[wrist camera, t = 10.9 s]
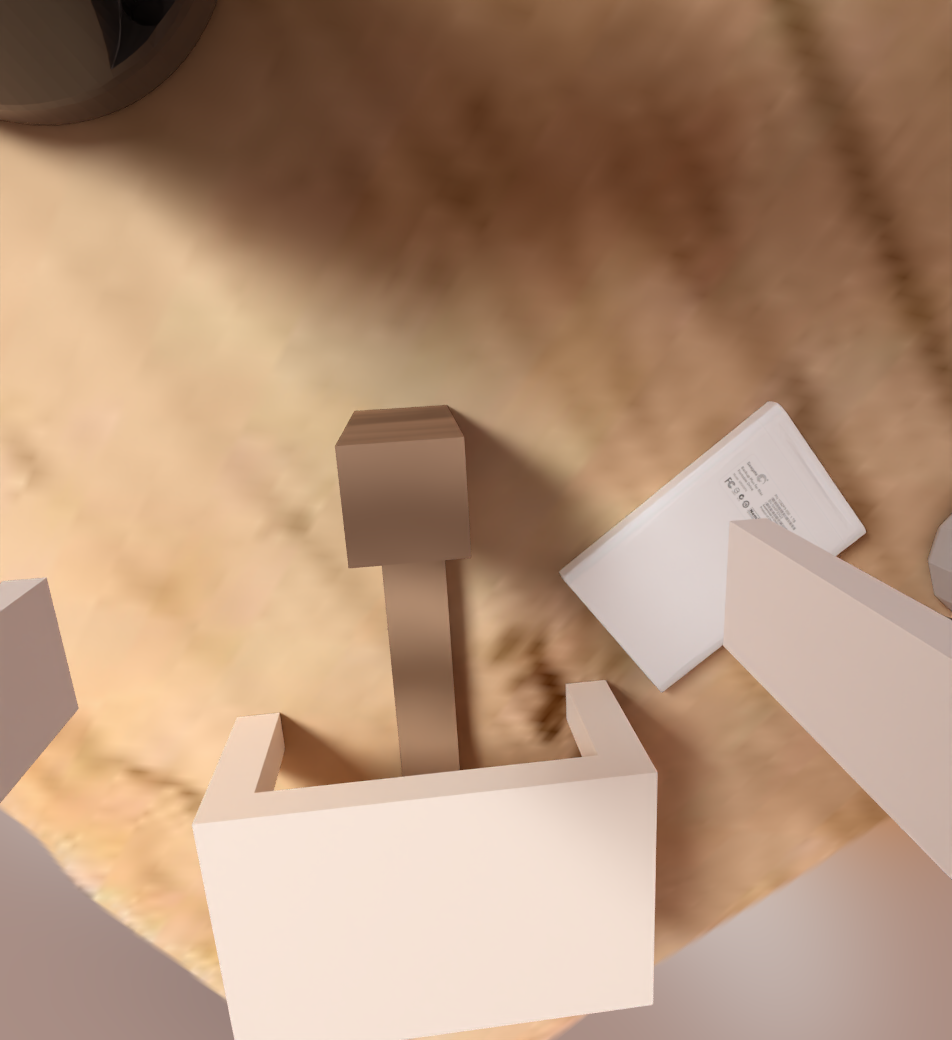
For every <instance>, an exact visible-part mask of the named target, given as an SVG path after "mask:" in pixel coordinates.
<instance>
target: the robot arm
mask: <svg viewBox="0 0 952 1040" xmlns="http://www.w3.org/2000/svg"><path fill="white" fill-rule="evenodd" d="M216 2H217V0H0V120H3V121H9V122H15V123H22V124H34V125H56V124H69V123H75V122H81V121H86V120H90V119H94V118H98V117H101V116H104V115H107V114H110V113H113V112H115V111H117V110H120V109H122V108H124V107H126V106H128V105H130V104H132V103H134V102H135V101H137V100H139V99H141V98H142V97H144V96H145V95H147V94H148V93H150V92H151V91H152V90H154V89H155V88H156V87H157V86H159V85H160V84H161V83H162V82H164V81H165V80H166V79H167V78H168V77H169V76H170V75H171V74H172V73H173V72H174V71H175V70H176V69H177V68H178V66H179V65H180V64H181V63H182V62H183V61H184V60H185V58H186V57H187V56H188V54H189V53H190V51H191V50H192V49H193V47H194V46H195V44H196V43H197V41H198V39H199V38H200V36H201V34H202V33H203V31H204V29H205V27H206V25H207V23H208V21H209V19H210V17H211V14H212V12H213V9H214V7H215V5H216ZM723 646H724V647H725V648H726V649H727V650H728V651H729V652H730V653H731V654H732V655H733V656H734V657H735V658H736V659H737V660H738V661H739V662H740V663H741V664H742V665H743V666H744V667H745V669H746V670H747V671H748V672H749V673H750V674H751V675H752V676H753V677H754V678H755V679H756V680H757V681H758V682H759V683H760V684H761V685H762V686H763V687H764V688H765V689H766V690H767V691H768V692H769V693H770V694H771V695H772V696H773V697H774V698H775V699H776V700H777V701H778V702H779V703H780V704H781V705H782V706H783V707H784V708H785V709H786V711H787V712H788V713H789V714H790V715H791V716H792V717H793V718H794V719H795V720H796V721H797V722H798V723H799V724H800V725H801V726H802V727H803V728H804V729H805V730H806V731H807V732H808V733H809V734H810V735H811V736H812V737H813V738H814V739H815V740H816V741H817V742H818V743H819V744H820V745H821V746H822V747H823V748H824V749H825V750H826V751H827V752H828V754H829V755H830V756H831V757H832V758H833V759H834V760H835V761H836V762H837V763H838V764H839V765H840V766H841V767H842V768H843V769H844V770H845V771H846V772H847V773H848V774H849V775H850V776H851V777H852V778H853V779H854V780H855V781H856V782H857V783H858V784H859V785H860V786H861V787H862V788H863V789H864V790H865V791H866V792H867V793H868V794H869V795H870V797H871V798H872V799H873V800H874V801H875V802H876V803H877V804H878V805H879V806H880V807H881V808H882V809H883V810H884V811H885V812H886V813H887V814H888V815H889V816H890V817H891V818H892V819H893V820H894V821H895V822H896V823H897V824H898V825H899V826H900V827H901V828H902V829H903V830H904V831H905V832H906V833H907V834H908V835H909V836H910V837H911V839H912V840H913V841H914V842H916V844H917V845H918V846H919V847H920V848H921V849H922V850H923V851H924V852H925V853H926V854H927V855H928V856H929V857H930V858H931V859H932V860H933V861H934V862H935V863H936V864H937V865H938V866H939V867H940V868H941V869H942V870H943V871H944V872H945V873H946V874H947V875H948V876H949V877H950V878H951V879H952V619H951V618H948V617H945V616H943V615H941V614H939V613H938V612H936V611H934V610H932V609H930V608H929V607H927V606H925V605H923V604H921V603H920V602H918V601H916V600H914V599H912V598H910V597H909V596H907V595H905V594H903V593H901V592H900V591H898V590H896V589H894V588H892V587H891V586H889V585H887V584H885V583H883V582H881V581H880V580H878V579H876V578H874V577H872V576H871V575H869V574H867V573H865V572H863V571H862V570H860V569H858V568H856V567H854V566H852V565H851V564H849V563H847V562H845V561H843V560H842V559H840V558H838V557H836V556H834V555H832V554H831V553H829V552H827V551H825V550H823V549H822V548H820V547H818V546H816V545H814V544H813V543H811V542H809V541H807V540H805V539H803V538H802V537H800V536H798V535H796V534H794V533H793V532H791V531H789V530H787V529H785V528H784V527H782V526H780V525H778V524H776V523H774V522H773V521H771V520H769V519H767V518H760V519H748V520H736V521H730V523H729V542H728V562H727V581H726V601H725V620H724V639H723ZM77 710H78V704H77V700H76V696H75V692H74V688H73V684H72V680H71V676H70V672H69V668H68V663H67V659H66V655H65V651H64V647H63V643H62V639H61V635H60V631H59V627H58V622H57V618H56V614H55V610H54V606H53V602H52V598H51V594H50V590H49V586H48V581H47V578H35V579H23V580H11V581H3V582H1V583H0V803H1V802H2V800H3V799H4V798H5V797H6V796H7V794H8V793H9V792H10V791H11V790H12V788H13V787H14V786H15V785H16V784H17V782H18V781H19V780H20V779H21V777H22V776H23V775H24V774H25V773H26V771H27V770H28V769H29V768H30V767H31V765H32V764H33V763H34V762H35V761H36V759H37V758H38V757H39V756H40V755H41V753H42V752H43V751H44V750H45V749H46V747H47V746H48V745H49V744H50V742H51V741H52V740H53V739H54V738H55V736H56V735H57V734H58V733H59V732H60V730H61V729H62V728H63V727H64V726H65V724H66V723H67V722H68V721H69V720H70V718H71V717H72V716H73V715H74V714H75V712H76V711H77Z"/></svg>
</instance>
